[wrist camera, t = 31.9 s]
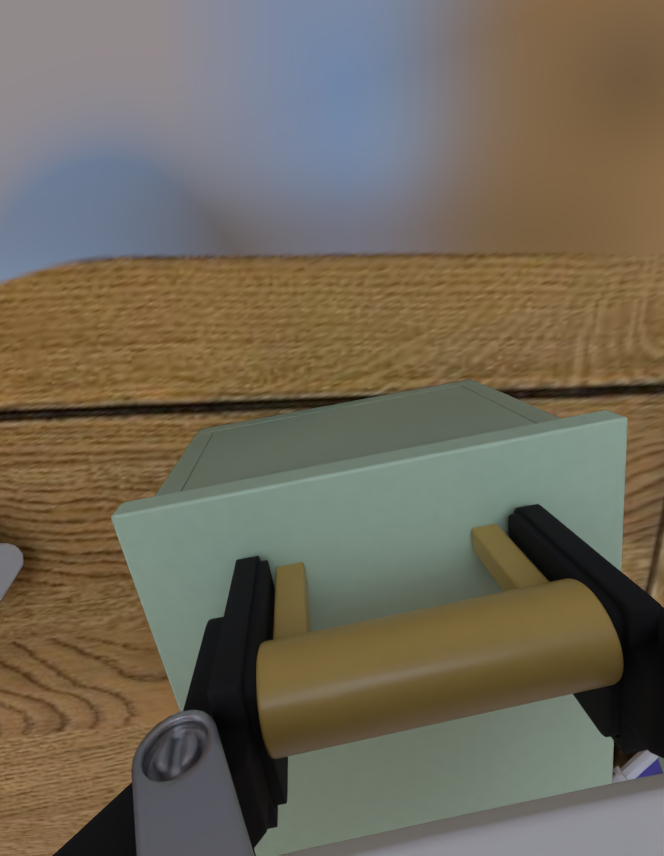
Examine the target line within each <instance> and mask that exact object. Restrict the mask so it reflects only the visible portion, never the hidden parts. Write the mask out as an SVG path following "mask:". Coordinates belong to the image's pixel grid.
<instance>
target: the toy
mask: <svg viewBox="0 0 664 856" xmlns="http://www.w3.org/2000/svg"><path fill="white" fill-rule="evenodd" d="M23 565H24V559H23V553H22V552H21V550H20V549H19V548H18V547H16V546H15V545H12V544H9V543H0V602H1V601H2V599H3V597H4V596H5V594H6V592H7V591H8V589H9V588H10V586H11V584H12V583H13V581H14V580H15V578H16V576H17V575H18V573H19V571H20V570H21V568H22V566H23Z"/></svg>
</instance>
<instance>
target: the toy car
mask: <svg viewBox="0 0 664 856" xmlns="http://www.w3.org/2000/svg"><path fill="white" fill-rule="evenodd" d="M613 771H614V773H615V774H614V775H613V776H612V783H617V782H621V781H626V780H631V779H636V778H641V777H646V776H651V775H656V774H661V773H663V771H662V768H661V766H660V763H659V759H658V756H657V755H655V754H653V753H650V752H649V751H648V750H645V751H640V752H638V753H637V754H636V755H634V756H633V757H632V758H631V759H630V760H629V761H628V762H627V763H626V764H625V765H623V766H622V767H621V768H620V767H619V766H618V765H617V766H616V767H615V768H614V769H613Z"/></svg>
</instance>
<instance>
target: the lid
mask: <svg viewBox="0 0 664 856" xmlns="http://www.w3.org/2000/svg"><path fill="white" fill-rule="evenodd" d="M626 443H627V418H626V417H624V416H621V415H618V414H616V413H613V412H610V411H607V410H605V411H599V412H594V413H589V414H584V415H578V416H573V417H568V418H563V419H557V420H552V421H547V422H542V423H537V424H531V425H526V426H521V427H516V428H510V429H505V430H500V431H495V432H489V433H484V434H479V435H474V436H469V437H463V438H458V439H453V440H448V441H442V442H437V443H432V444H427V445H422V446H416V447H411V448H406V449H401V450H395V451H390V452H385V453H380V454H374V455H369V456H364V457H359V458H354V459H348V460H343V461H338V462H333V463H327V464H322V465H317V466H312V467H306V468H301V469H296V470H291V471H286V472H280V473H275V474H270V475H265V476H259V477H254V478H249V479H244V480H239V481H233V482H228V483H223V484H218V485H212V486H207V487H202V488H197V489H191V490H186V491H181V492H176V493H171V494H165V495H160V496H155V497H150V498H144V499H139V500H134V501H129V502H124V503H122V504H121V505H120V506H119V507H118V509H117V510H116V511H115V512H114V514H113V515H112V518H111V519H112V523H113V525H114V528H115V531H116V534H117V536H118V539H119V542H120V545H121V548H122V550H123V553H124V556H125V559H126V562H127V564H128V567H129V570H130V573H131V576H132V578H133V581H134V584H135V587H136V590H137V592H138V595H139V598H140V601H141V603H142V606H143V609H144V612H145V615H146V617H147V620H148V623H149V626H150V629H151V631H152V634H153V637H154V640H155V643H156V645H157V648H158V651H159V654H160V657H161V659H162V662H163V665H164V668H165V670H166V673H167V676H168V679H169V682H170V684H171V687H172V690H173V693H174V696H175V698H176V701H177V704H178V707H179V710H180V712H181V711H183V709H184V706H185V702H186V698H187V695H188V691H189V687H190V683H191V680H192V676H193V672H194V669H195V665H196V661H197V657H198V654H199V650H200V646H201V643H202V639H203V635H204V631H205V628H206V625H207V622H208V621H209V620H210V619H213V618H219V617H224V613H225V608H226V604H227V599H228V595H229V590H230V586H231V581H232V576H233V572H234V567H235V563H236V560H238V559H243V558H249V557H254V556H259V558H260V560H261V561H264V560H268V563H269V567H270V571H271V575H272V580H273V584H274V588H275V602H274V626H273V640H268V641H264V642H262V643H261V644H260V646H259V648H258V653H257V659H256V695H257V707H258V715H259V722H260V728H261V733H262V737H263V741H264V745H265V747H266V750H267V752H268V755H269V756H270V757H271V758H273V759H279V758H284V757H288V796H287V803H286V804H282V805H278V826H277V827H275V828H270V829H267V832H266V834H265V835H264V836H263V837H262V839H261V840H260V841H259V843H258V844H257V845H256V847H255V848H254V850H255V853H256V856H277V855H282V854H286V853H290V852H294V851H298V850H303V849H307V848H312V847H316V846H321V845H326V844H330V843H335V842H339V841H344V840H349V839H353V838H358V837H362V836H367V835H372V834H376V833H381V832H385V831H390V830H395V829H399V828H404V827H408V826H413V825H418V824H422V823H427V822H431V821H436V820H441V819H445V818H450V817H455V816H459V815H464V814H469V813H474V812H478V811H483V810H488V809H493V808H497V807H502V806H507V805H511V804H516V803H521V802H526V801H530V800H535V799H540V798H545V797H549V796H554V795H559V794H564V793H569V792H573V791H578V790H583V789H588V788H592V787H597V786H602V785H607V784H612V774H613V751H614V740H613V739H612V737H604V736H603V735H602V734H601V733H600V732H599V730H598V729H597V728H596V726H595V725H594V723H593V722H592V721H591V719H590V718H589V716H588V715H587V714H586V712H585V711H584V709H583V708H582V706H581V705H580V704H579V702H578V701H577V699H576V698H575V697H574V695H573V694H574V693H579V692H583V691H588V690H592V689H597V688H601V687H606V686H610V685H614V684H616V683H617V682H618V681H619V680H620V679H621V677H622V674H623V668H624V661H623V653H622V648H621V645H620V641H619V638H618V635H617V632H616V630H615V628H614V625H613V623H612V621H611V619H610V617H609V615H608V613H607V612H606V610H605V608H604V607H603V605H602V604H601V602H600V601H599V599H598V598H597V597H596V596H595V594H594V593H593V592H592V591H591V590H590V589H589V588H588V587H587V586H586V585H584V584H583V583H581V582H580V581H578V580H575V579H570V578H566V579H561V580H556V581H552V582H550V581H549V580H548V579H547V578H546V577H545V576H544V575H543V574H542V573H541V572H540V571H539V569H538V568H537V567H536V566H535V565H534V564H533V563H532V562H531V561H530V560H529V559H528V557H527V556H526V555H525V554H524V553H523V552H522V551H521V550H520V549H519V548H518V546H517V545H516V544H515V543H514V542H513V541H512V540H511V539H510V538H509V527H508V517H509V515H511V514H514V510H515V509H516V508H518V507H523V506H529V505H534V504H539V505H541V506H542V507H543V508H544V509H546V510H547V511H548V512H549V513H551V514H552V515H553V516H554V517H555V518H557V519H558V520H559V521H560V522H561V523H563V524H564V525H565V526H566V527H567V528H569V529H570V530H571V531H572V532H574V533H575V534H576V535H577V536H578V537H580V538H581V539H582V540H583V541H584V542H586V543H587V544H588V545H589V546H590V547H592V548H593V549H594V550H595V551H597V552H598V553H599V554H600V555H601V556H603V557H604V558H605V559H606V560H607V561H609V562H610V563H611V564H612V565H613V566H615V567H616V568H617V569H618V570H619V571H621V561H622V538H623V514H624V490H625V467H626Z"/></svg>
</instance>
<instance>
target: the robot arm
mask: <svg viewBox="0 0 664 856" xmlns="http://www.w3.org/2000/svg"><path fill="white" fill-rule="evenodd" d="M508 527H509V538H510V539H511V540H512V541H513V542H514V543H515V544H516V545H517V546H518V548H519V549H520V550H521V551H522V552H523V553H524V554H525V555H526V556H527V557H528V559H529V560H530V561H531V562H532V563H533V564H534V565H535V566H536V567H537V568H538V569H539V571H540V572H541V573H542V574H543V575H544V576H545V577H546V578H547V579H548V580H549V581H550V582H552V581H556V580H561V579H566V578H570V579H575V580H578V581H580V582H581V583H583V584H584V585H586V586H587V587H588V588H589V589H590V590H591V591H592V592H593V593H594V594H595V596H596V597H597V598H598V599H599V601H600V602H601V604H602V605H603V607H604V608H605V610H606V612H607V613H608V615H609V617H610V619H611V621H612V623H613V625H614V628H615V630H616V632H617V635H618V638H619V641H620V645H621V648H622V653H623V661H624V668H623V674H622V677H621V679H620V680H619V681H618V682H617V683H616V684H614V685H610V686H606V687H601V688H597V689H592V690H588V691H583V692H579V693H574V694H573V695H574V697H575V698H576V699H577V701H578V702H579V704H580V705H581V706H582V708H583V709H584V711H585V712H586V714H587V715H588V716H589V718H590V719H591V721H592V722H593V723H594V725H595V726H596V728H597V729H598V730H599V732H600V733H601V734H602V735H603V736H604V737H612V739H613V740H614V742H615V743H616V744H617V746H618V747H619V748H620V750H621V751H622V753H623V754H624V755H626V754H630V753H635V752H640V751H645V750H648V751H649V752H650V753H653V754H655V755H657V756H658V759H659V763H660V766H661V768H662V771H663V773H661V774H656V775H651V776H646V777H641V778H636V779H631V780H626V781H621V782H617V783H612V784H607V785H602V786H597V787H592V788H588V789H583V790H578V791H573V792H569V793H564V794H559V795H554V796H549V797H545V798H540V799H535V800H530V801H526V802H521V803H516V804H511V805H507V806H502V807H497V808H493V809H488V810H483V811H478V812H474V813H469V814H464V815H459V816H455V817H450V818H445V819H441V820H436V821H431V822H427V823H422V824H418V825H413V826H408V827H404V828H399V829H395V830H390V831H385V832H381V833H376V834H372V835H367V836H362V837H358V838H353V839H349V840H344V841H339V842H335V843H330V844H326V845H321V846H316V847H312V848H307V849H303V850H298V851H294V852H290V853H286V854H282V855H277V856H664V608H663V607H662V606H661V605H660V604H659V603H658V602H657V601H656V600H655V599H653V598H652V597H651V596H650V595H649V594H647V593H646V592H645V591H644V590H642V589H641V588H640V587H639V586H638V585H636V584H635V583H634V582H633V581H632V580H630V579H629V578H628V577H627V576H626V575H624V574H623V573H622V572H621V571H619V570H618V569H617V568H616V567H615V566H613V565H612V564H611V563H610V562H609V561H607V560H606V559H605V558H604V557H603V556H601V555H600V554H599V553H598V552H597V551H595V550H594V549H593V548H592V547H590V546H589V545H588V544H587V543H586V542H584V541H583V540H582V539H581V538H580V537H578V536H577V535H576V534H575V533H574V532H572V531H571V530H570V529H569V528H567V527H566V526H565V525H564V524H563V523H561V522H560V521H559V520H558V519H557V518H555V517H554V516H553V515H552V514H551V513H549V512H548V511H547V510H546V509H544V508H543V507H542V506H541V505H539V504H534V505H529V506H523V507H518V508H516V509H515V510H514V514H511V515H509V517H508ZM274 602H275V588H274V584H273V580H272V575H271V571H270V567H269V563H268V560H264V561H261V560H260V558H259V556H254V557H249V558H243V559H238V560H236V563H235V567H234V572H233V576H232V581H231V586H230V590H229V595H228V599H227V604H226V608H225V613H224V617H219V618H213V619H210V620H209V621H208V622H207V625H206V628H205V631H204V635H203V639H202V643H201V646H200V650H199V654H198V657H197V661H196V665H195V669H194V672H193V676H192V680H191V683H190V687H189V691H188V695H187V698H186V702H185V706H184V709H183V711H181V712H179V713H176V714H174V715H171V716H169V717H168V718H166V719H164V720H163V721H161V722H160V723H158V724H157V725H156V726H155V727H154V728H153V729H152V730H151V731H150V732H149V733H148V734H147V735H146V736H145V738H144V739H143V740H142V742H141V743H140V745H139V746H138V748H137V750H136V753H135V755H134V758H133V762H132V771H131V773H132V783H131V784H130V785H129V786H128V787H127V788H125V789H124V790H123V791H122V792H121V793H120V794H119V795H118V796H117V797H116V798H115V799H114V800H112V801H111V802H110V803H109V804H108V805H107V806H106V807H105V808H104V809H103V810H102V811H101V812H99V813H98V814H97V815H96V816H95V817H94V818H93V819H92V820H91V821H90V822H89V823H88V824H86V825H85V826H84V827H83V828H82V829H81V830H80V831H79V832H78V833H77V834H76V835H75V836H74V837H72V838H71V839H70V840H69V841H68V842H67V843H66V844H65V845H64V846H63V847H62V848H61V849H59V850H58V851H57V852H56V853H55V854H54V855H53V856H256V853H255V850H254V848H255V847H256V845H257V844H258V843H259V841H260V840H261V839H262V837H263V836H264V835H265V834H266V832H267V829H270V828H275V827H277V826H278V805H282V804H286V803H287V796H288V757H284V758H279V759H273V758H271V757H270V756H269V755H268V752H267V750H266V747H265V745H264V741H263V737H262V733H261V728H260V722H259V715H258V707H257V695H256V659H257V653H258V648H259V646H260V644H261V643H262V642H264V641H268V640H273V626H274Z"/></svg>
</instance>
